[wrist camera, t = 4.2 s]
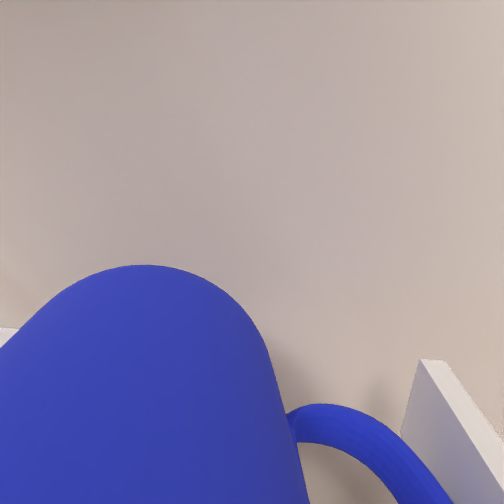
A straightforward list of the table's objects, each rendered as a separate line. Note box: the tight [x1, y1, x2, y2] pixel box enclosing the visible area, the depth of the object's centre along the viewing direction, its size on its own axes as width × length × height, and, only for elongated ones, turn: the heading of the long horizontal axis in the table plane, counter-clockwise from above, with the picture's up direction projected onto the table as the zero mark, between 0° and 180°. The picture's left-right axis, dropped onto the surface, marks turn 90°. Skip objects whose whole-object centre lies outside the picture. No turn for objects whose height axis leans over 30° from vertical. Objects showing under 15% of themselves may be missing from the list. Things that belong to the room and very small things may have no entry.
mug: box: [0, 265, 454, 504], centre depth 10 cm, size 8×12×10 cm
